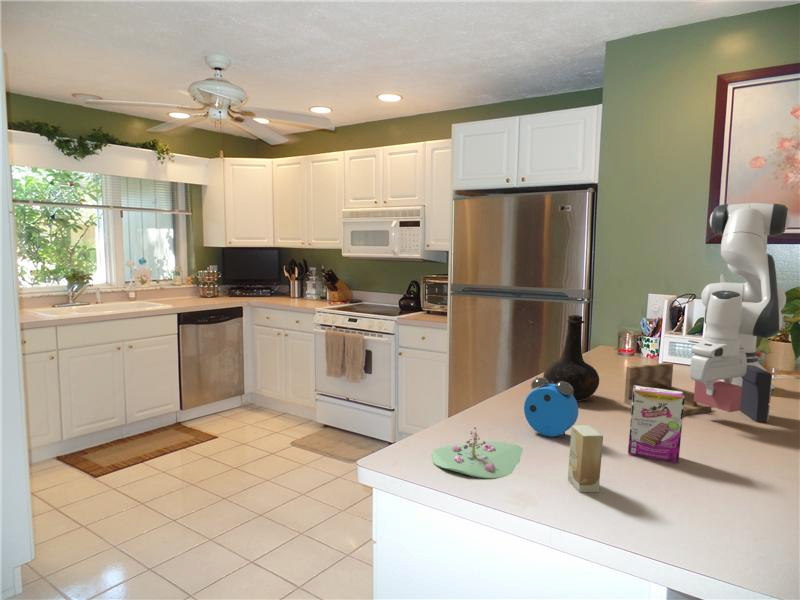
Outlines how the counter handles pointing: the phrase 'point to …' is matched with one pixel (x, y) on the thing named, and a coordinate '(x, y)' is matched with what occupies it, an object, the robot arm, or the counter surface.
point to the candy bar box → (656, 423)
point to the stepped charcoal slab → (756, 394)
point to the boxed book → (719, 396)
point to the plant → (479, 458)
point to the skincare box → (585, 458)
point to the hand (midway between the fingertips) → (717, 393)
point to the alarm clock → (551, 407)
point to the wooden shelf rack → (659, 384)
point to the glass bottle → (574, 364)
